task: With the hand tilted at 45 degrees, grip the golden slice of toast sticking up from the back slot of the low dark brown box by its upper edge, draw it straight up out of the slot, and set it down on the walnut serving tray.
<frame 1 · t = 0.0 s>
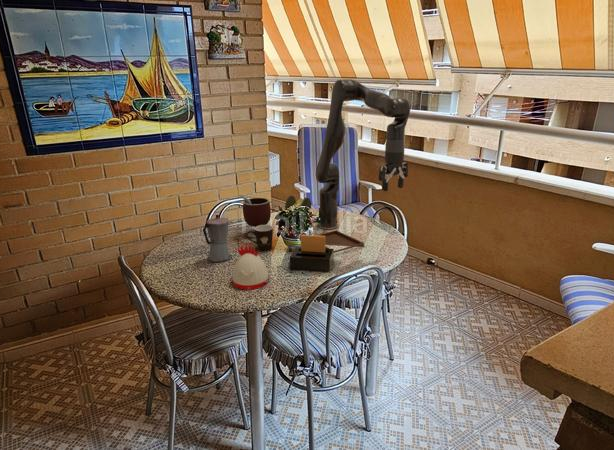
hand: (392, 189, 169), 29 cm above the table, tool pointing down, fingers open, 8 cm apart
tray: (335, 244, 191), on the table
moka pot: (219, 259, 179), on the table
toast: (313, 262, 169), point 1 cm above the table, touching low dark brown box
coffee mug: (262, 248, 189), on the table
mate gourd: (256, 233, 208), on the table
kitchen timer: (250, 281, 158), on the table
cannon: (293, 219, 228), on the table
low dark brown box: (312, 268, 167), on the table
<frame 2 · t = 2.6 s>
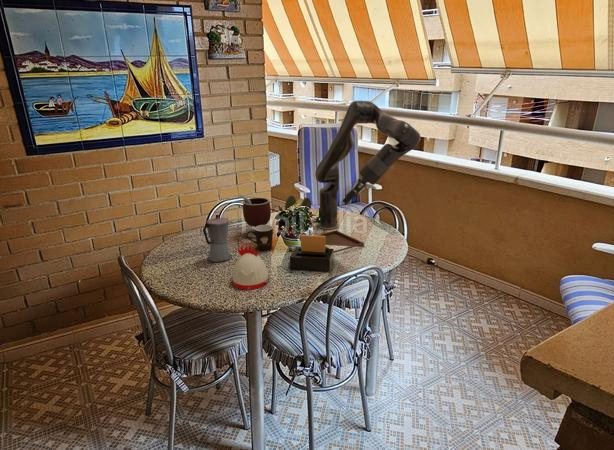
hand: (346, 200, 158), 29 cm above the table, tool tilted 40°, fingers open, 8 cm apart
nothing on the table moved.
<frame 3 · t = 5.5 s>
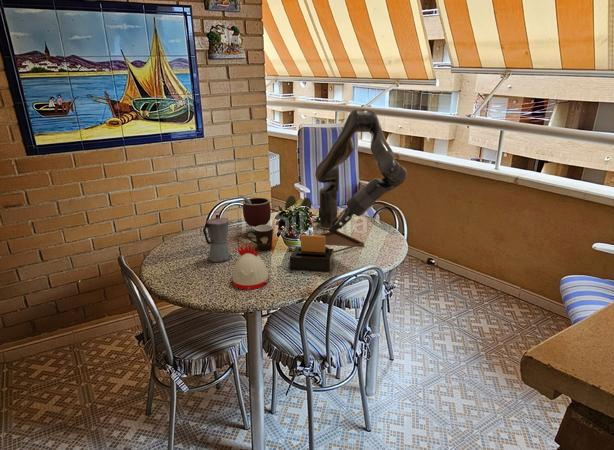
hand: (331, 228, 162), 17 cm above the table, tool tilted 45°, fingers open, 8 cm apart
nothing on the table moved.
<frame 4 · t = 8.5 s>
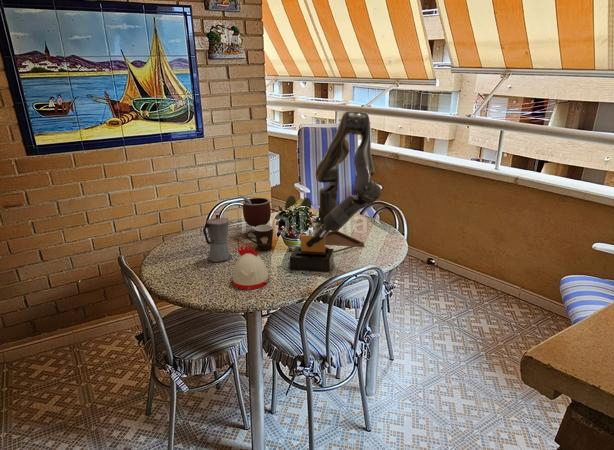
hand: (308, 244, 167), 9 cm above the table, tool tilted 45°, fingers closed on toast, 1 cm apart
toast: (313, 262, 169), point 2 cm above the table, touching gripper
everything else where it was.
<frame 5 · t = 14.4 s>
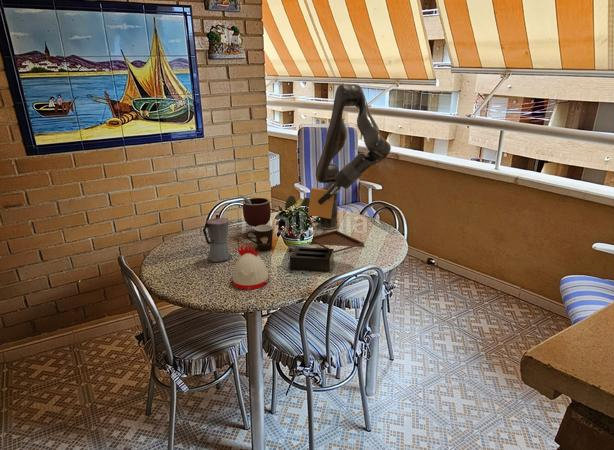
hand: (319, 202, 174), 24 cm above the table, tool tilted 45°, fingers closed on toast, 1 cm apart
toast: (319, 216, 176), point 17 cm above the table, tilted 8°, touching gripper
everything else where it was.
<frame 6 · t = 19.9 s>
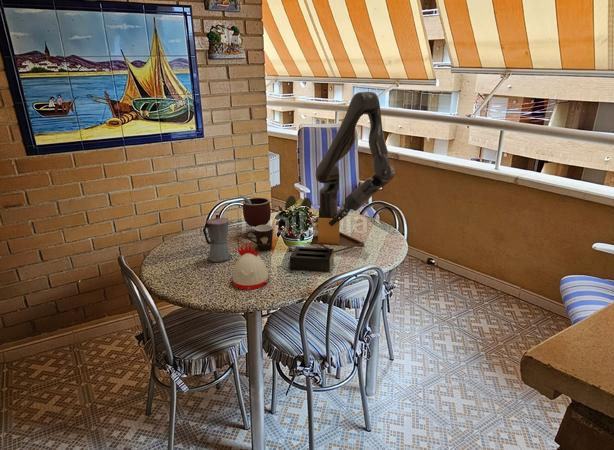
hand: (331, 222, 188), 11 cm above the table, tool tilted 45°, fingers open, 5 cm apart
toast: (328, 242, 192), resting on tray
everything else where it was.
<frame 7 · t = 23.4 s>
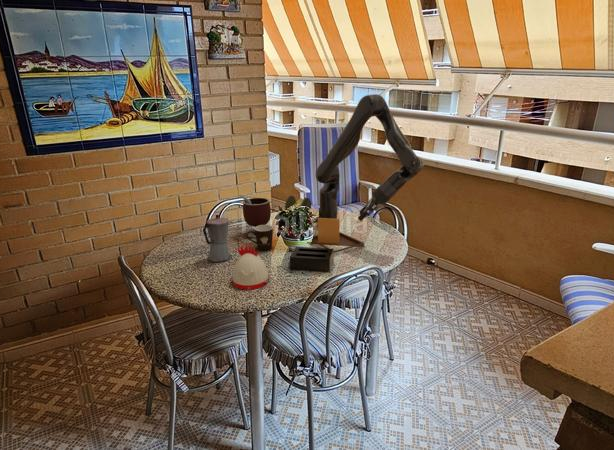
hand: (360, 216, 184), 14 cm above the table, tool tilted 40°, fingers open, 8 cm apart
nothing on the table moved.
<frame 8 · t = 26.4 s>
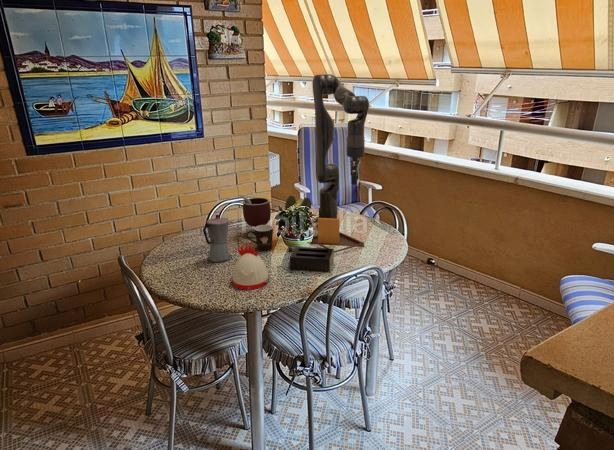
hand: (355, 182, 179), 30 cm above the table, tool pointing down, fingers open, 8 cm apart
nothing on the table moved.
at the end: toast inside the target area on the tray (3.0 cm from its centre), point 0.5 cm above the tray's base; toast moved 25.2 cm from its start; the gripper is holding nothing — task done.
